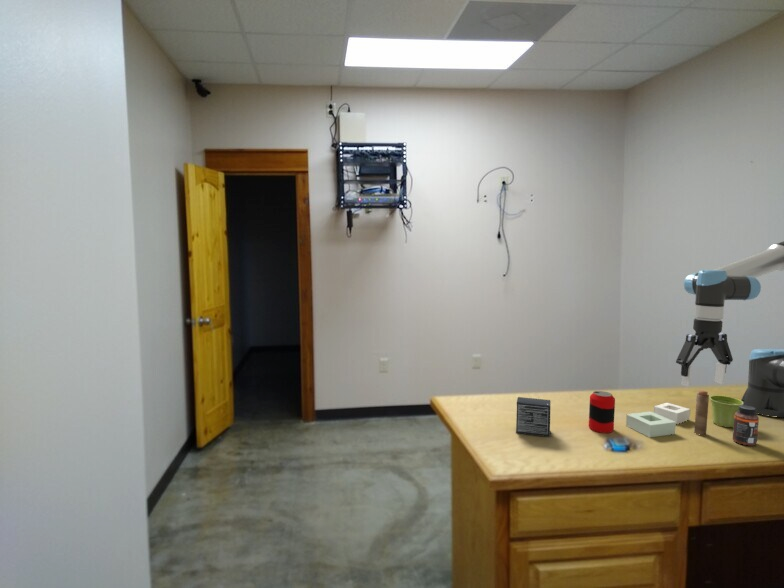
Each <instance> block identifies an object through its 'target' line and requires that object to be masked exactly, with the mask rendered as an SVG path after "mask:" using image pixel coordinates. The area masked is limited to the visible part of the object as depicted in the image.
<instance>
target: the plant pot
mask: <svg viewBox="0 0 784 588" xmlns="http://www.w3.org/2000/svg"><path fill="white" fill-rule="evenodd" d="M709 401H710V403H711V407H712V408H711V409H712V410H711V411H712V423H713V424H715V425H717V424H718V425H717V426H719V425H721V426H720V427H722V426H726V427H725V428H733V427H734V415H735V413H736V412H738V411H739V406H740V405H743V404H744V403H743V401H741V399H739V398H736V397H731V396H727V395H719V394H717V395H716V394H715V395H709Z"/></svg>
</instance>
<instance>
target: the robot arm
mask: <svg viewBox="0 0 784 588" xmlns="http://www.w3.org/2000/svg"><path fill="white" fill-rule="evenodd" d="M775 271H779V272H780V271H782V272H783V271H784V241H780V242H778V243H775V244H772V245H770V246H768V247H767V248H766V249H765V250H764V251H761V252H760V253H755V254H753V255H751V256H747V257H745V258H742V259H739V260H737V261H735V262H731V263H728V264H725V265H723V266H720V267H717V268H715V269H700V270H699V271H698V272H696V273H690V274H688V275H686V277H685V278H684V281H683V289H684V290H685V291H686V292H687V293H688V294H690V295H695V302H694V319H693V324H692V325H693V328H692V329H693V331H695V334H689V333H687V334H686V337H685V341H684V343H683V346H682V348H681V350H680V352H679V354H678V355H677V358H676V360H675V363H676V364H678V365H680V367H681V370H680V376H681V382H680V385H681V386H683V387H686V388H691V386H692V375H693V373H692V371H693V366H691V365H692V364H693V362H694V361H695V359H696V358H697V357H698V355H699V354H700V353H701V352H702V351H704V350H706V349H710V351H712V353H713V355H714V356H715V358H716V360H717V361H718V362H715V372H714V383H715V384H719V385H725V381H726V380H725V379H726V373H727V365H728V366H729V365H731V364H732V362H733V361H734V358H733V355H732V352H731V350H730V345H729V343H728V334H727V333H723V323H724V322H723V319H724V314H725V313H724V312H725V311H724V309H725V301H747V300H748V301H749V300H754V299H756V298H757V297H758V296H759V295H760V293H761V291H762V290H761V288H762V286H761V283H760V280H758V279H757V278H759V277H762V276H763V275H768V274H771V273H772V272H775ZM748 365H749V366H748V377H747V378H748V379H747V388H746V390H745V392H744V394H743V396H742V397H741V399H740V400H741V401H743V403H744V404H743V405H746V406H751V407H754V408H755V413H759V414H763V415H769V416H777V417H784V348H755V349H752V350H751V352H750V356H749V359H748Z"/></svg>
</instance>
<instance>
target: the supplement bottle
mask: <svg viewBox="0 0 784 588" xmlns="http://www.w3.org/2000/svg"><path fill="white" fill-rule="evenodd" d="M759 420H760V418H759V415H758V414H755V408H754V407H751V406H746V405H740V406H739V411H738V412H736V413H735V415H734V427H732V428H733V429H732V430H733V431H732V441H733V442H735V443H736V442H737V444H738V443H739V445H741V444H743V445H742V446H746V445H748V447H754V446H756V445H757V443H758V433H759V432H758V431H759Z"/></svg>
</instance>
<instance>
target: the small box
mask: <svg viewBox="0 0 784 588" xmlns="http://www.w3.org/2000/svg"><path fill="white" fill-rule="evenodd" d="M551 401H552V400H551V399H542V398H531V397H522V396H521V397H520V396H518V397H517V399H516V419H515V420H516V426H515V433H516V434H521V435H522V434H523V435H530V436H538V437H546V438H550V436H551V433H550V432H551V404H552V403H551Z"/></svg>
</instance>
